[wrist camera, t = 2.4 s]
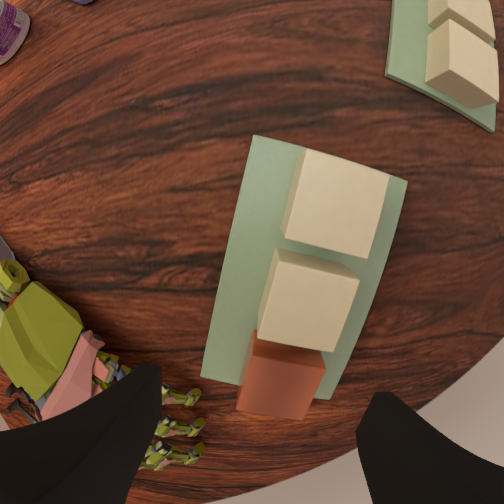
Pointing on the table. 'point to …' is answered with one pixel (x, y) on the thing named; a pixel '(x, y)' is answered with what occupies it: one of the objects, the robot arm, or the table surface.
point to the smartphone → (83, 1)
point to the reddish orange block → (279, 379)
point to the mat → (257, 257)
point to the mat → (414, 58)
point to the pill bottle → (11, 30)
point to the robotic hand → (70, 360)
